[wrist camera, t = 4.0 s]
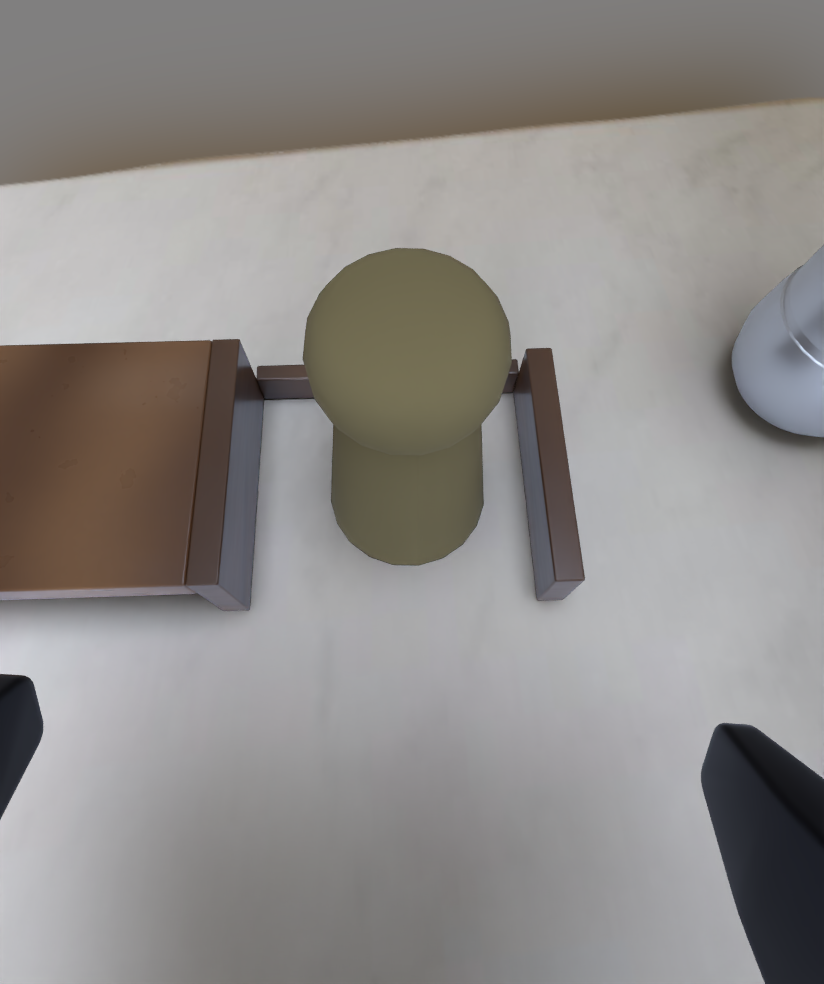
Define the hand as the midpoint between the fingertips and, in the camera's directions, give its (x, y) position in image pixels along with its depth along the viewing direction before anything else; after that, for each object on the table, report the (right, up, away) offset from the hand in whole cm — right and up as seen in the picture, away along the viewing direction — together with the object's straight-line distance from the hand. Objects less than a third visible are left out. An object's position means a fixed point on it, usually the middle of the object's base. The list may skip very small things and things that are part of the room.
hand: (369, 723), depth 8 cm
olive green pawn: (0, +3, +16) cm, 16 cm away
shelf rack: (-6, +3, +16) cm, 17 cm away
